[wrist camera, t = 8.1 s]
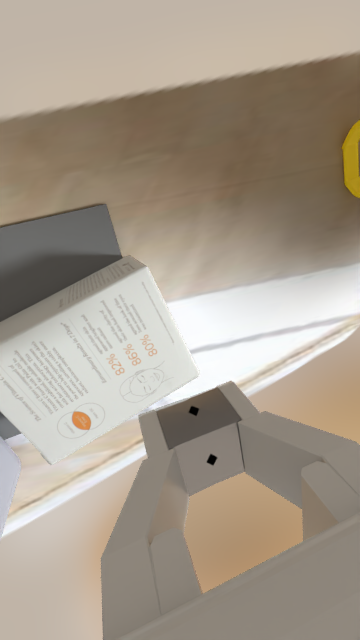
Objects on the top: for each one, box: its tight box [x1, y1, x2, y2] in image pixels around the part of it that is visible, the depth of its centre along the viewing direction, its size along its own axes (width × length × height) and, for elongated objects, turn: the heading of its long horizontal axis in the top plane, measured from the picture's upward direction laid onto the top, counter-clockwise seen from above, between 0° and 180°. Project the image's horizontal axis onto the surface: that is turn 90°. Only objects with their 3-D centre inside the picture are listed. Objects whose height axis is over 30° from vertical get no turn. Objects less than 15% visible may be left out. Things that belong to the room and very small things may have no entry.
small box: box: [0, 255, 200, 465], centre depth 18 cm, size 8×6×10 cm
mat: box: [0, 204, 122, 440], centre depth 19 cm, size 13×14×1 cm
